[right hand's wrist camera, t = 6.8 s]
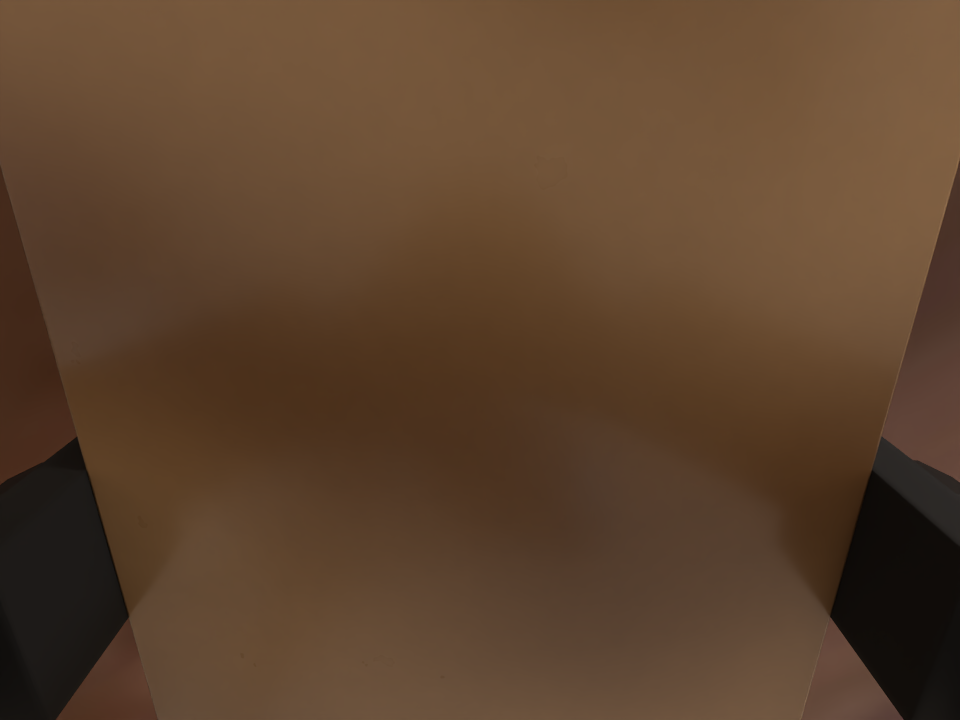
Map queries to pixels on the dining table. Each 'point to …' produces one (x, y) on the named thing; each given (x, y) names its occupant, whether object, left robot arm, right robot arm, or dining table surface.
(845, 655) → the dining table surface
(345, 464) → the wooden block
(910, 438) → the dining table surface
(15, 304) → the dining table surface
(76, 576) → the right robot arm
